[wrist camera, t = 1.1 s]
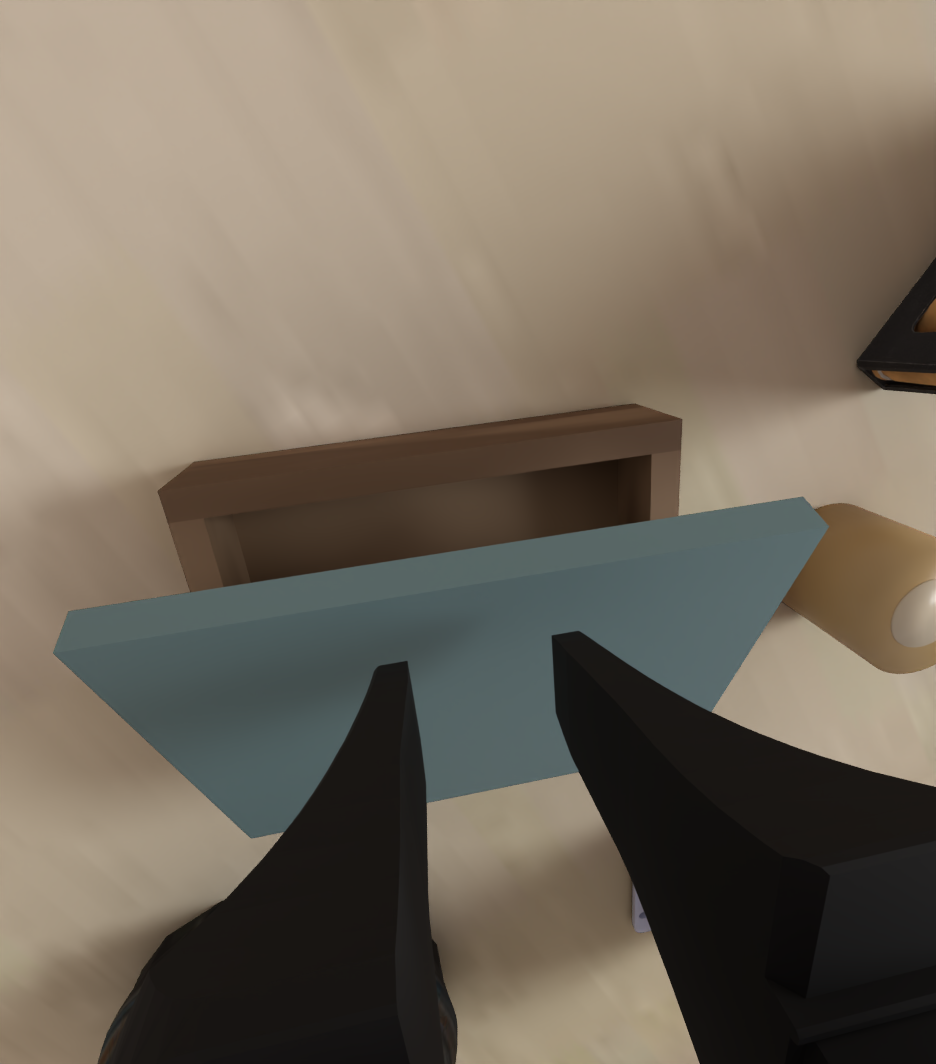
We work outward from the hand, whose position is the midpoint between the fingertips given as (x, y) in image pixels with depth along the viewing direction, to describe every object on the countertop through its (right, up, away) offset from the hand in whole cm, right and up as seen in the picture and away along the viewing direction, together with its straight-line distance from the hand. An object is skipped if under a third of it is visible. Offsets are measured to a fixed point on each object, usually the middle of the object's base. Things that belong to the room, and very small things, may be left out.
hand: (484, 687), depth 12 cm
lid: (0, -1, +5) cm, 5 cm away
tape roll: (+16, +2, +13) cm, 20 cm away
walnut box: (-1, +1, +11) cm, 11 cm away
